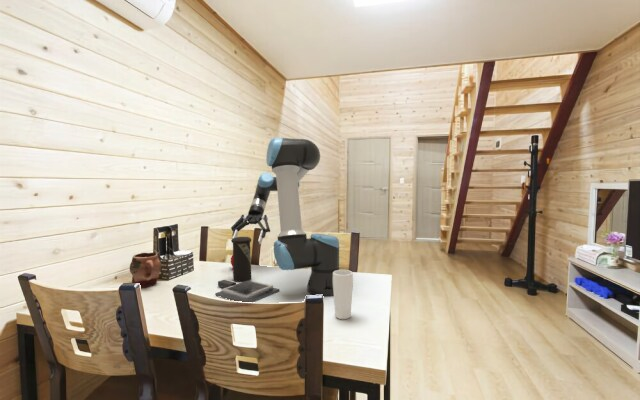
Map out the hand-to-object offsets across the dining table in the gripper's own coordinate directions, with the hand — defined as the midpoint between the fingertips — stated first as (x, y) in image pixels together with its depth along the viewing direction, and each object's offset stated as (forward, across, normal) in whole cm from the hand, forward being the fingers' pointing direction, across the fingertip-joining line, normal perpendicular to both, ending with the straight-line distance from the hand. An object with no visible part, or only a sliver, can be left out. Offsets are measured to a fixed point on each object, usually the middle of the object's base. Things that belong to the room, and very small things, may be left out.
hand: (246, 242), depth 157 cm
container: (+16, -1, -7) cm, 18 cm away
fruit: (+3, +9, -20) cm, 22 cm away
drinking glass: (+41, -52, +18) cm, 68 cm away
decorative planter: (+27, +38, +4) cm, 47 cm away
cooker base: (+28, -7, +5) cm, 29 cm away
